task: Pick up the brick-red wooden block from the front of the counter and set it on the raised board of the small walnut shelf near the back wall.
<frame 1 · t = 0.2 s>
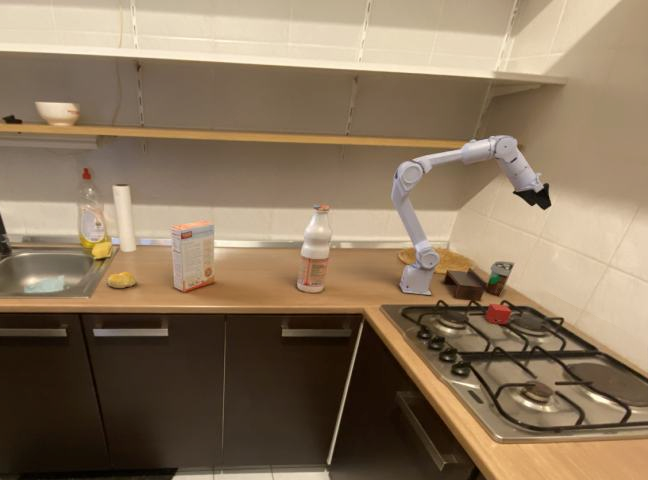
hand: (541, 205, 117), 31 cm above the worktop, tool tilted 45°, fingers open, 7 cm apart
fruit juice: (309, 288, 136), on the worktop
bread roll: (122, 284, 132), on the worktop
shelf: (460, 291, 139), on the worktop
block: (495, 320, 118), on the worktop
cracker box: (194, 285, 134), on the worktop
food container: (491, 291, 141), on the worktop
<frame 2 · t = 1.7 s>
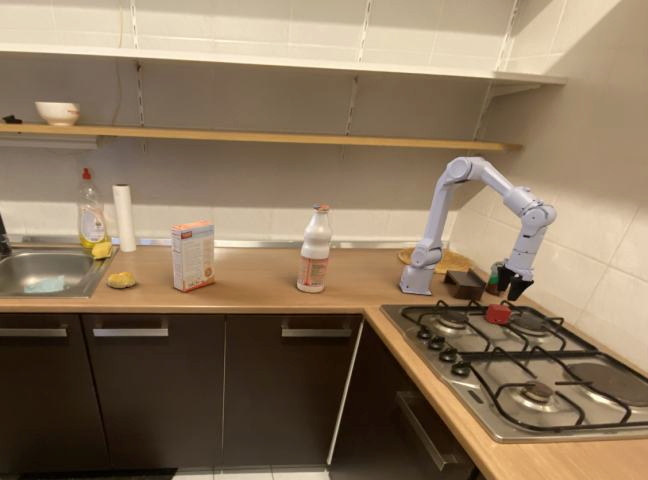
hand: (505, 295, 114), 8 cm above the worktop, tool pointing down, fingers open, 7 cm apart
nothing on the worktop moved.
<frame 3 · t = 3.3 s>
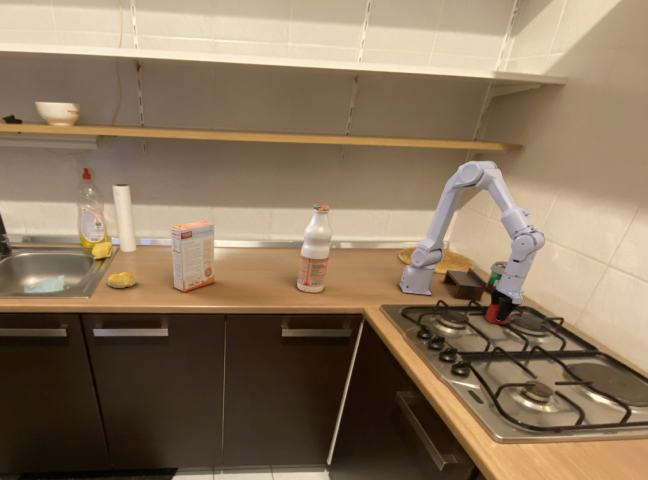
hand: (496, 316, 117), 1 cm above the worktop, tool pointing down, fingers closed on block, 4 cm apart
block: (495, 320, 118), on the worktop, touching gripper
everything else where it was.
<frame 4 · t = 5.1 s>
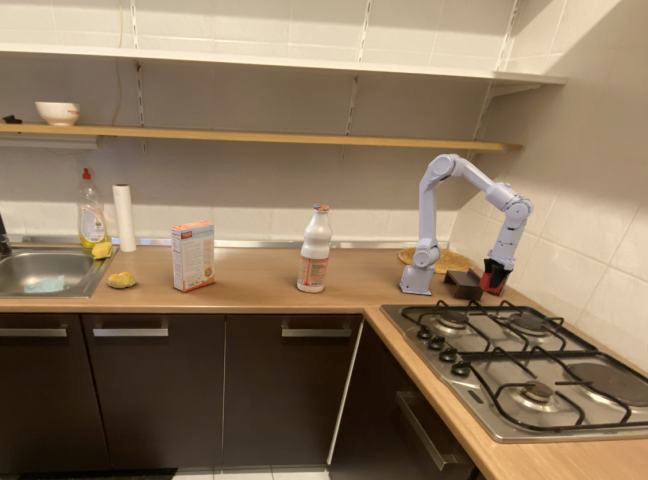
hand: (490, 284, 122), 8 cm above the worktop, tool pointing down, fingers closed on block, 4 cm apart
block: (488, 288, 123), point 7 cm above the worktop, touching gripper
everything else where it was.
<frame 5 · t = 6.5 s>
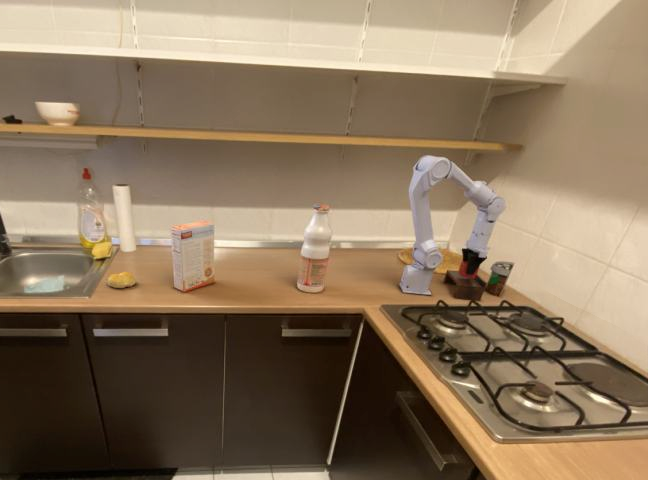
hand: (467, 271, 135), 7 cm above the worktop, tool pointing down, fingers closed on block, 4 cm apart
block: (466, 275, 136), point 6 cm above the worktop, touching gripper
everything else where it was.
when the fingers open (6 cm above the worktop, at t = 7.2 s): block stays where it is, resting on shelf.
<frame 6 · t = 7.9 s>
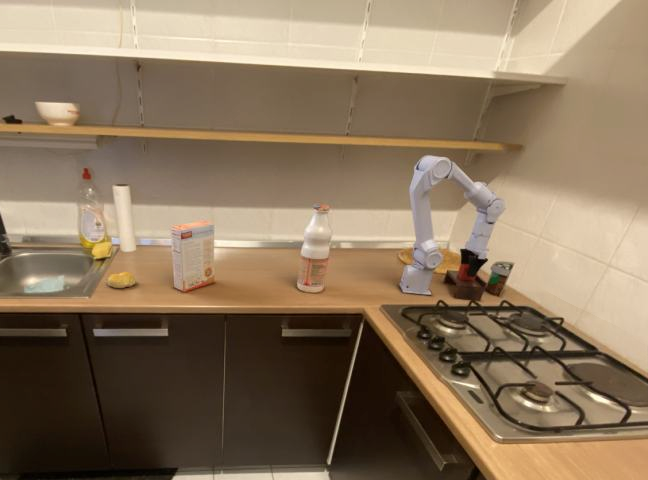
hand: (466, 273, 136), 7 cm above the worktop, tool pointing down, fingers open, 7 cm apart
block: (465, 278, 137), point 5 cm above the worktop, touching shelf
everything else where it was.
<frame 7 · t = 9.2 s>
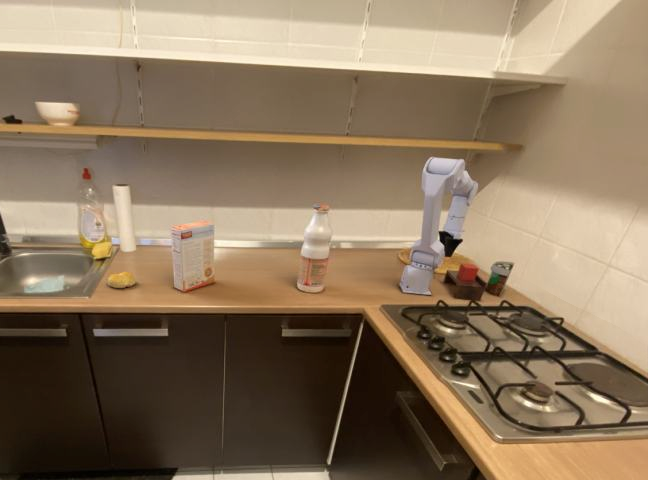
hand: (444, 253, 143), 10 cm above the worktop, tool pointing down, fingers open, 7 cm apart
nothing on the worktop moved.
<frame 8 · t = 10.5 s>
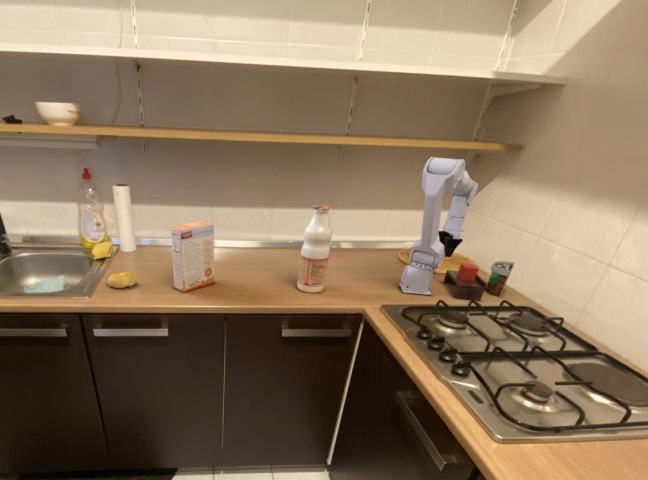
hand: (444, 253, 143), 10 cm above the worktop, tool pointing down, fingers open, 7 cm apart
nothing on the worktop moved.
at the end: block inside the target area on the shelf (0.1 cm from its centre), point 5.0 cm above the shelf's base; block tilted 0°; the gripper is holding nothing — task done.
